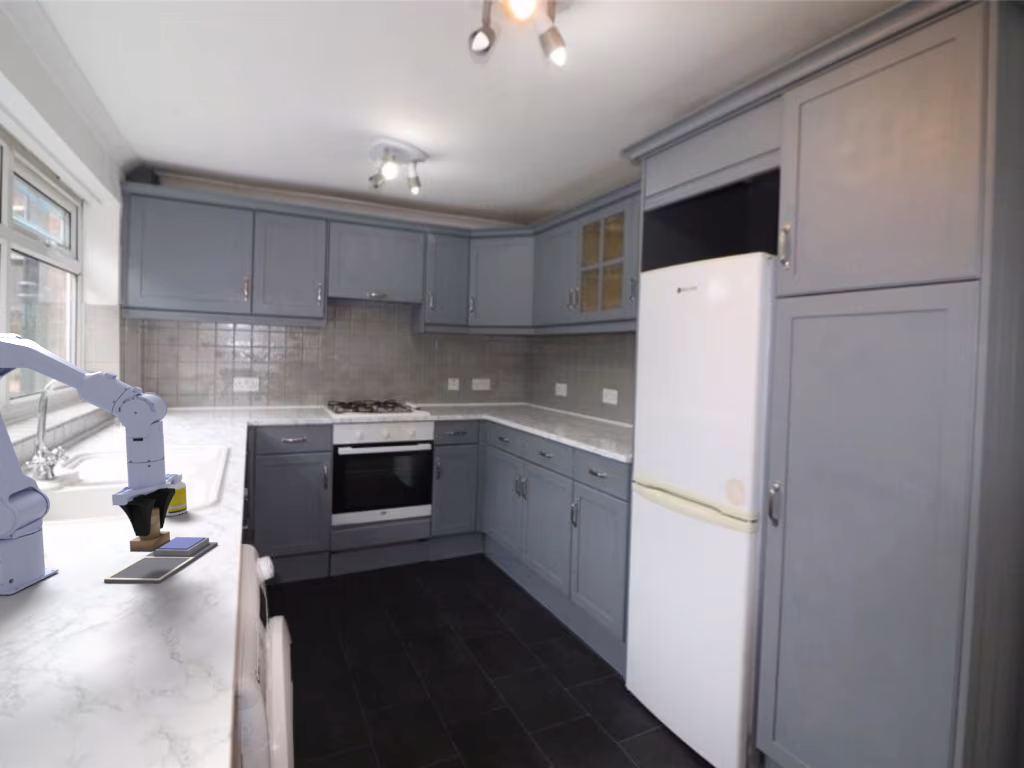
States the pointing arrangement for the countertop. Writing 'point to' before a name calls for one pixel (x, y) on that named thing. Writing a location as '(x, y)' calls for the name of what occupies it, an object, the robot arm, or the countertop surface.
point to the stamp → (151, 536)
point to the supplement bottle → (178, 498)
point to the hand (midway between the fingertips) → (149, 531)
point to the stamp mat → (163, 561)
